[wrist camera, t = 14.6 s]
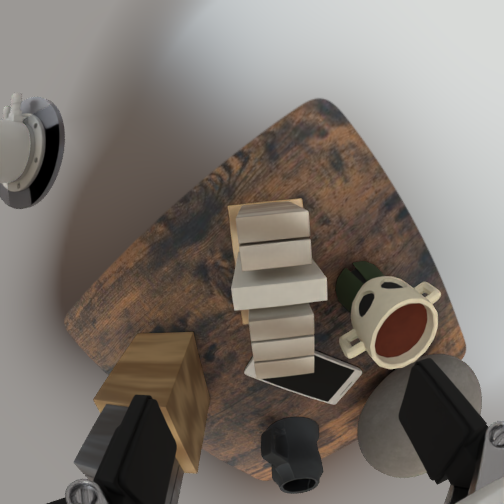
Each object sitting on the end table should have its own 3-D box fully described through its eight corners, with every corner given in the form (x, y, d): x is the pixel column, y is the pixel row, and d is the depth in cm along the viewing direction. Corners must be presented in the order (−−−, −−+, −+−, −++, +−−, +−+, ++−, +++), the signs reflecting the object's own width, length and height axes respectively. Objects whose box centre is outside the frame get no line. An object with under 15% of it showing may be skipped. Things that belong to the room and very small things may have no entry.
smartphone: (269, 330, 34) (270, 334, 33) (361, 368, 36) (363, 372, 35) (243, 370, 36) (243, 374, 35) (333, 401, 37) (334, 405, 37)
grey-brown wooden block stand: (228, 205, 31) (213, 219, 19) (300, 198, 30) (329, 207, 19) (243, 320, 34) (239, 383, 22) (307, 313, 34) (331, 372, 22)
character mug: (382, 237, 31) (444, 268, 19) (401, 283, 33) (459, 327, 20) (307, 284, 33) (336, 342, 20) (332, 327, 34) (365, 393, 22)
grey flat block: (238, 251, 31) (231, 288, 20) (302, 245, 31) (327, 277, 20) (240, 267, 31) (234, 310, 21) (303, 260, 31) (327, 300, 20)
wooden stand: (137, 333, 35) (58, 455, 13) (193, 331, 34) (141, 478, 13) (160, 398, 38) (118, 515, 16) (210, 398, 37) (188, 529, 16)
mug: (328, 432, 39) (342, 482, 29) (286, 453, 41) (291, 502, 30) (288, 400, 37) (297, 458, 26) (242, 425, 39) (239, 480, 28)
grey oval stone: (355, 416, 39) (388, 504, 20) (334, 398, 37) (367, 497, 19) (443, 347, 36) (507, 416, 18) (430, 322, 34) (506, 395, 16)
